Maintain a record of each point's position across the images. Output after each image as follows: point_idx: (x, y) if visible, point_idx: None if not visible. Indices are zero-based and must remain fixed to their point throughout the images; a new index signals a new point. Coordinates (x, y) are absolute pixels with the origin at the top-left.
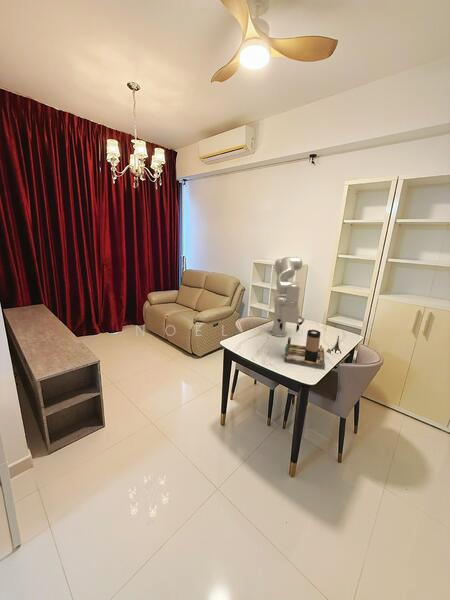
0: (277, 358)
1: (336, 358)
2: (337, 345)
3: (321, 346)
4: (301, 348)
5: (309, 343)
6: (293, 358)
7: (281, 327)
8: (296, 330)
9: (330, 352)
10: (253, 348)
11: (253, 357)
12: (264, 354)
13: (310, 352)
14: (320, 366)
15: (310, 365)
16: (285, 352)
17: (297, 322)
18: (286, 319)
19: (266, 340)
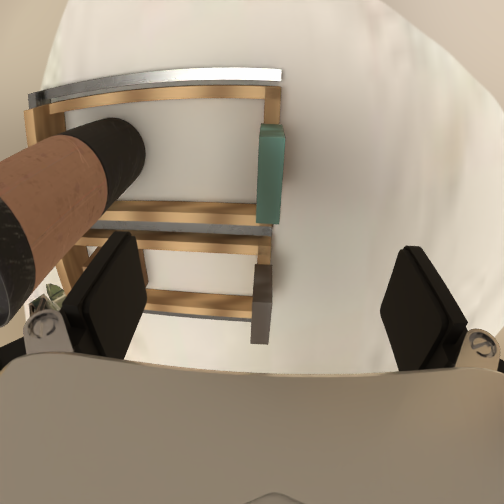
0: (330, 112)
1: None
2: None
3: None
4: (184, 296)
5: (38, 160)
6: (210, 96)
7: (421, 272)
8: (122, 247)
9: (58, 298)
10: (472, 216)
11: (474, 93)
12: (417, 150)
13: (70, 132)
14: (50, 92)
15: (100, 78)
16: (279, 128)
17: (11, 363)
18: (421, 456)
19: None
